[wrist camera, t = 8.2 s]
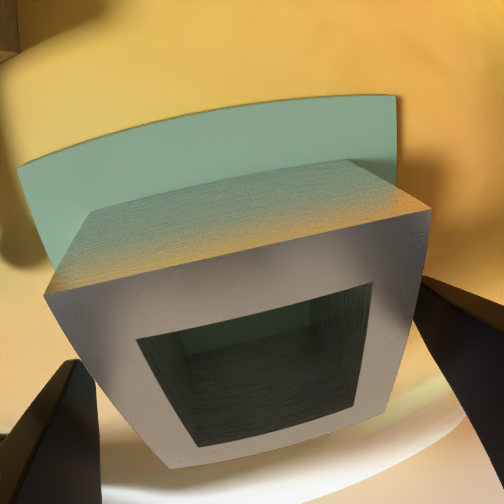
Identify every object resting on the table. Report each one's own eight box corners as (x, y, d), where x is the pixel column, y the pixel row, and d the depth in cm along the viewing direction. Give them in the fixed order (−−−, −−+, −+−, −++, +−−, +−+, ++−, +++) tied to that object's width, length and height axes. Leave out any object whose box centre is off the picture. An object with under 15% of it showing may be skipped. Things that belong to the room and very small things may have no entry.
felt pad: (368, 345, 13) (374, 355, 12) (139, 401, 12) (138, 413, 11) (383, 94, 8) (395, 95, 7) (25, 163, 7) (16, 168, 6)
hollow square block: (344, 158, 8) (432, 208, 5) (340, 339, 11) (383, 412, 8) (89, 211, 7) (43, 295, 4) (164, 382, 11) (169, 469, 8)
